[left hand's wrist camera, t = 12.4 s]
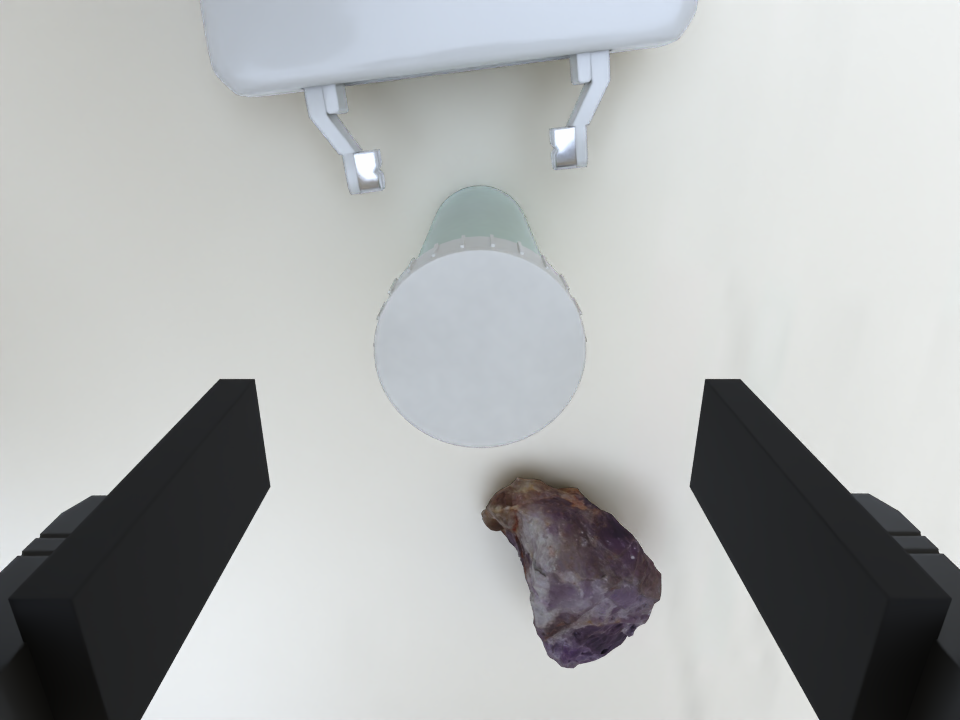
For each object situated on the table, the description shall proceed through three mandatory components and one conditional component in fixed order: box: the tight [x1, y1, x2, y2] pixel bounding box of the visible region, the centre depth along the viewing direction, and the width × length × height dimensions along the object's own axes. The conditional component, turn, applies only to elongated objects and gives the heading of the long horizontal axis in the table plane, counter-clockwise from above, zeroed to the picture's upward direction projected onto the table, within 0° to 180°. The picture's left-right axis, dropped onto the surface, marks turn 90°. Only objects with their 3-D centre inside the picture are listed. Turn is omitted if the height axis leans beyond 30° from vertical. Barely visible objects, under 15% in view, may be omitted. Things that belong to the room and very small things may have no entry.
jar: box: [418, 186, 541, 257], centre depth 27 cm, size 6×6×19 cm
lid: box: [374, 234, 587, 448], centre depth 19 cm, size 6×6×2 cm
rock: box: [481, 477, 661, 668], centre depth 40 cm, size 12×9×10 cm
